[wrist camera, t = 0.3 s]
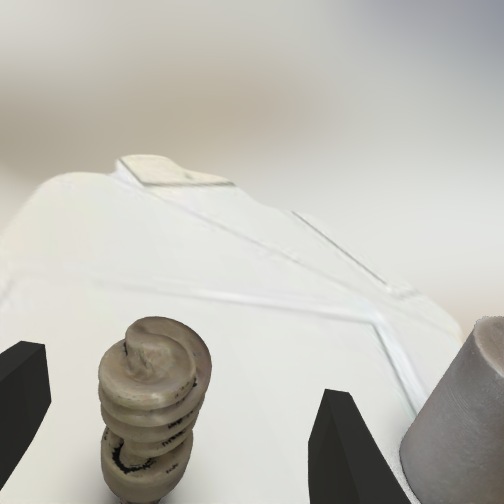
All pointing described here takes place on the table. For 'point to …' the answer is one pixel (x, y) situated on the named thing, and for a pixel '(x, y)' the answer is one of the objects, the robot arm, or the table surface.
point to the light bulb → (151, 407)
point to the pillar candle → (462, 426)
